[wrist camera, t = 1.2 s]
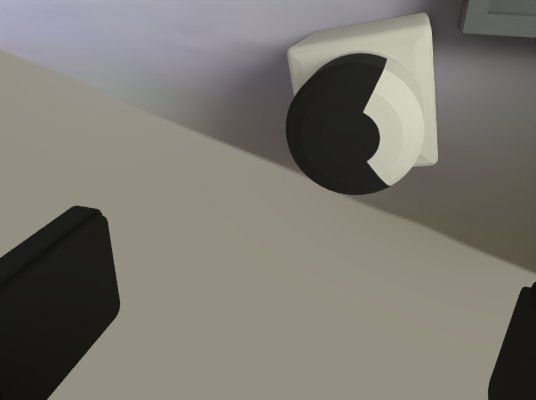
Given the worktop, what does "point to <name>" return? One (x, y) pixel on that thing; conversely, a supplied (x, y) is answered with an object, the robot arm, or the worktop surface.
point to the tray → (499, 17)
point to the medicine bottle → (363, 104)
